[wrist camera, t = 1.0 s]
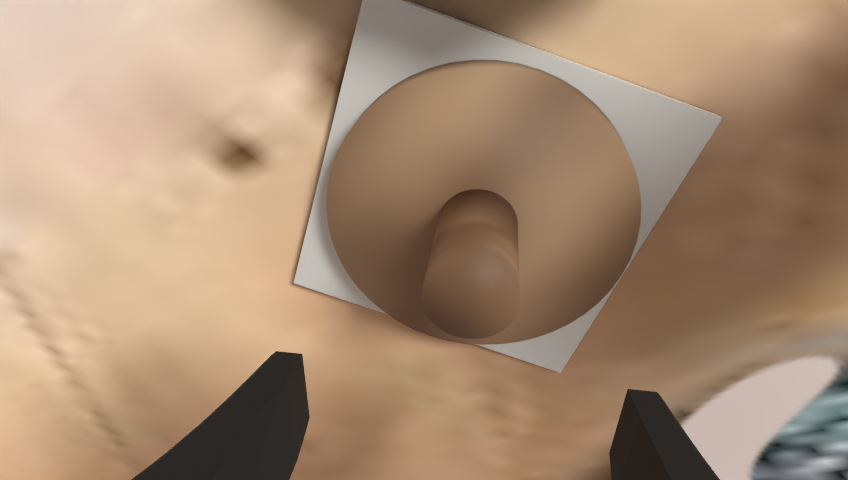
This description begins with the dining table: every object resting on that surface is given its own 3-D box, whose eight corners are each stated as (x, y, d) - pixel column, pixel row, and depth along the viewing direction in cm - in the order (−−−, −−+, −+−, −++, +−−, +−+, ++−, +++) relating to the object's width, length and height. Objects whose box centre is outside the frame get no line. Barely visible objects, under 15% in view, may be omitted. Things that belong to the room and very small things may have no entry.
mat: (718, 114, 18) (722, 119, 18) (559, 366, 25) (560, 372, 24) (368, -15, 18) (365, -13, 17) (296, 277, 24) (293, 283, 24)
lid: (699, 127, 18) (764, 204, 14) (554, 361, 24) (566, 472, 19) (376, 9, 18) (327, 47, 13) (307, 277, 23) (257, 371, 19)
